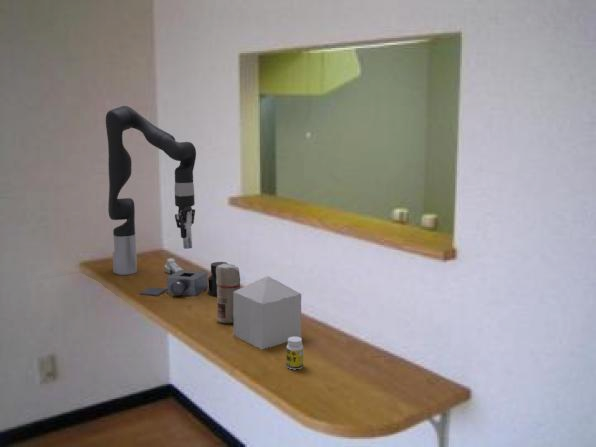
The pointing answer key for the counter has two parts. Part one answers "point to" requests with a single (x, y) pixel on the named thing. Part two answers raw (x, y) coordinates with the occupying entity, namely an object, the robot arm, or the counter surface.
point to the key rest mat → (153, 291)
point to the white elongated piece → (171, 266)
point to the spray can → (226, 291)
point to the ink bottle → (214, 278)
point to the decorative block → (266, 313)
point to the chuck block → (187, 282)
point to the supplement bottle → (294, 353)
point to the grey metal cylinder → (188, 235)
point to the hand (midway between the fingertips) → (186, 236)
